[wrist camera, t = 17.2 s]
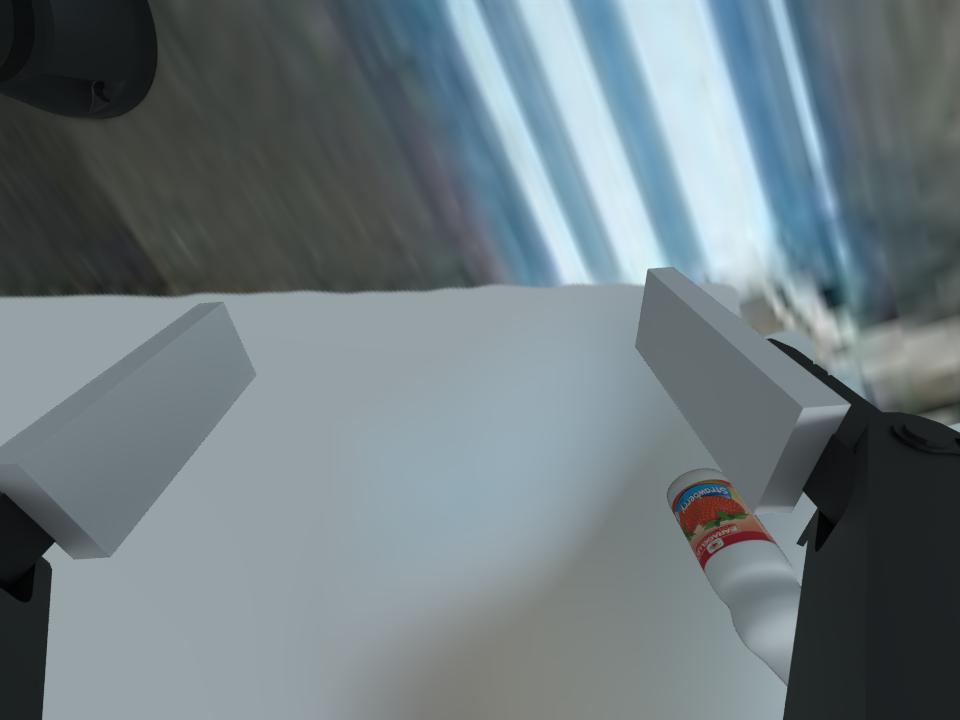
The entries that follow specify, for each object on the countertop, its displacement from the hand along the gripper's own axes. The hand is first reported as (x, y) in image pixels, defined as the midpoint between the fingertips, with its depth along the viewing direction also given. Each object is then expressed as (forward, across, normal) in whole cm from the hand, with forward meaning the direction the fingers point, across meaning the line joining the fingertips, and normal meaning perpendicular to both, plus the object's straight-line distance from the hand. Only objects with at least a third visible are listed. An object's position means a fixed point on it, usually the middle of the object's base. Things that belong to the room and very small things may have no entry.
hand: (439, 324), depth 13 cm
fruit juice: (+29, +32, -46) cm, 63 cm away
